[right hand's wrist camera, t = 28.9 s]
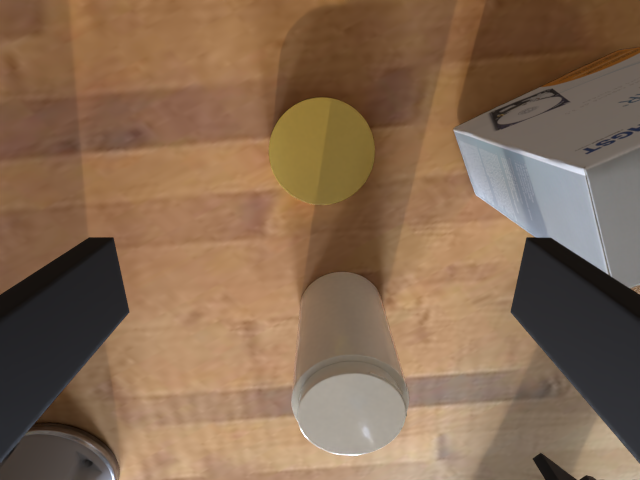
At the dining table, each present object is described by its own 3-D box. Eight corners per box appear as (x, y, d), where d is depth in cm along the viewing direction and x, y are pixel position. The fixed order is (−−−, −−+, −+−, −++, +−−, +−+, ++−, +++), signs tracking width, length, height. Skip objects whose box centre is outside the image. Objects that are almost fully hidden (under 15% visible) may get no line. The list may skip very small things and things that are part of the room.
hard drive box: (619, 45, 33) (1003, -10, 14) (634, 128, 36) (976, 171, 17) (448, 127, 36) (588, 169, 17) (473, 198, 38) (619, 303, 20)
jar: (359, 353, 45) (377, 473, 31) (287, 325, 44) (271, 438, 30) (397, 290, 42) (436, 393, 28) (321, 258, 41) (321, 349, 27)
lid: (292, 78, 34) (291, 78, 33) (390, 122, 36) (393, 124, 34) (256, 178, 38) (254, 181, 36) (347, 215, 39) (348, 219, 37)
